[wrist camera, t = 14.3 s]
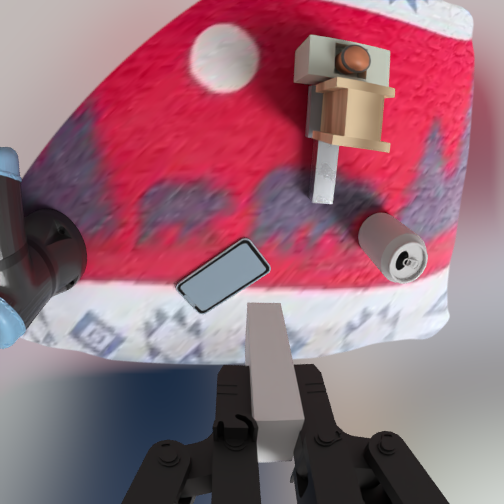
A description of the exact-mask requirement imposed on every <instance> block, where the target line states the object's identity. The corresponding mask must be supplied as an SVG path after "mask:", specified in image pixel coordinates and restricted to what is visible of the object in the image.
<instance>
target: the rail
mask: <svg viewBox="0 0 504 504" xmlns="http://www.w3.org/2000/svg"><path fill="white" fill-rule="evenodd" d="M338 152H339V145H332V144H329V143H325V142H322V141H319V140H316V139H314V141H313V153H312V164H311V174H310V184H309V194H308V198H309V199H310V200H311V202H312V203H325V204H333V196H334V188H335V179H336V171H337V161H338Z"/></svg>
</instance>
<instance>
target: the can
mask: <svg viewBox="0 0 504 504" xmlns="http://www.w3.org/2000/svg"><path fill="white" fill-rule="evenodd" d="M358 239H359V244H360V246H361V248H362V250H363V251H364V252H365V253H366V254H367V255H368V257H369V258H370V259H371V260H372V261H373V263H374V264H375V265H376V266H377V267H378V269H379V270H380V271H381V272H382V274H383V275H384V276H385V277H386V278H387V279H388V280H390V281H393V282H398V283H409V282H412V281H414V280H415V279H417V278H418V277H419V276H420V275H421V274H422V273H423V271H424V269H425V267H426V264H427V258H428V254H427V251H426V247H425V243H424V242H423V240H422V239H421V238H420V237H419V236H418V235H417V234H415V233H414V232H413V231H411V230H410V229H409V228H407V227H406V226H405V225H404V224H402V223H401V222H400V221H398V220H397V219H396V218H394V217H393V216H391V215H389V214H387V213H381V212H380V213H376V214H373V215H371V216H370V217H368V218H367V219H366V220H365V221H364V222H363V224H362V226H361V228H360V230H359V235H358Z"/></svg>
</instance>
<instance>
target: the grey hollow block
mask: <svg viewBox="0 0 504 504" xmlns="http://www.w3.org/2000/svg"><path fill="white" fill-rule="evenodd" d="M349 45H360V46H362V47H363V48H365V49H366V50H367V51H368V53H369V55H370V58H371V64H370V67H369V68H368V69H367V70H366V71H364V72H361V73H352V74H348V75H346V74H342V73H340V72H339V71H338V70H337V69H336V67H335V56H336V55H337V54H339V53H340V52H342V51H343V49H344V48H346V47H347V46H349ZM389 67H390V51H389V50H385V49H381V48H377V47H373V46H369V45H364V44H360V43H355V42H350V41H345V40H340V39H335V38H329V37H323V36H317V35H309V36H308V38H307V39H306V40H305V41H304V42H303V43H302V44H301V45H300V46H299V47H298V48H297V50H296V51H295V67H294V83H301V84H309V85H317V84H319V83H322V82H325V81H327V80H330V79H333V78H335V77H341V78H347V79H353V80H358V81H363V82H368V83H373V84H378V85H382V86H386V87H389Z"/></svg>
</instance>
